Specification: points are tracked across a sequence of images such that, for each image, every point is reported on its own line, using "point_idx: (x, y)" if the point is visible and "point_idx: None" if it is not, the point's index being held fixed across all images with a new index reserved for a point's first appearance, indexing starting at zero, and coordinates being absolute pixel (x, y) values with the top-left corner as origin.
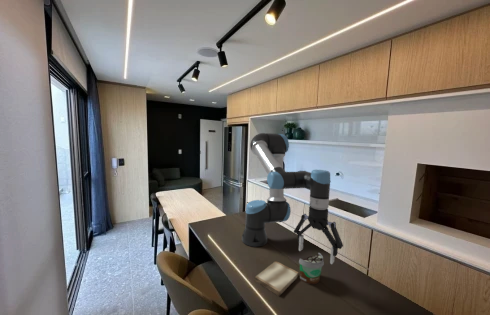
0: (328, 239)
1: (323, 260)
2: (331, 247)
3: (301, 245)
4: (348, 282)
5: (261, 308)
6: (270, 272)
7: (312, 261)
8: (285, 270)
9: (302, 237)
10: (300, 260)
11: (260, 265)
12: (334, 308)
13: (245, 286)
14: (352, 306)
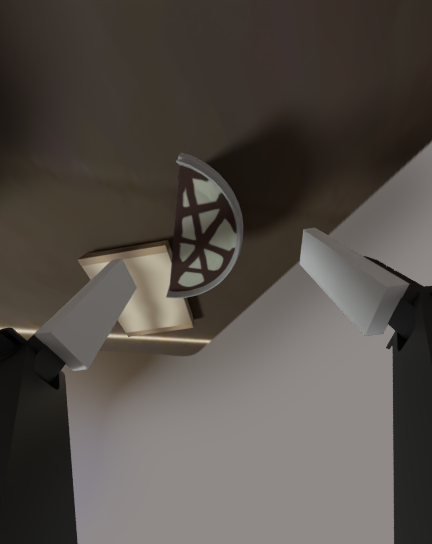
0: (399, 424)
1: (238, 209)
2: (368, 329)
3: (118, 297)
4: (306, 94)
5: (196, 349)
6: (127, 305)
7: (205, 259)
8: (137, 269)
9: (79, 335)
10: (173, 295)
11: (77, 290)
12: (292, 261)
13: (139, 345)
14: (330, 219)
